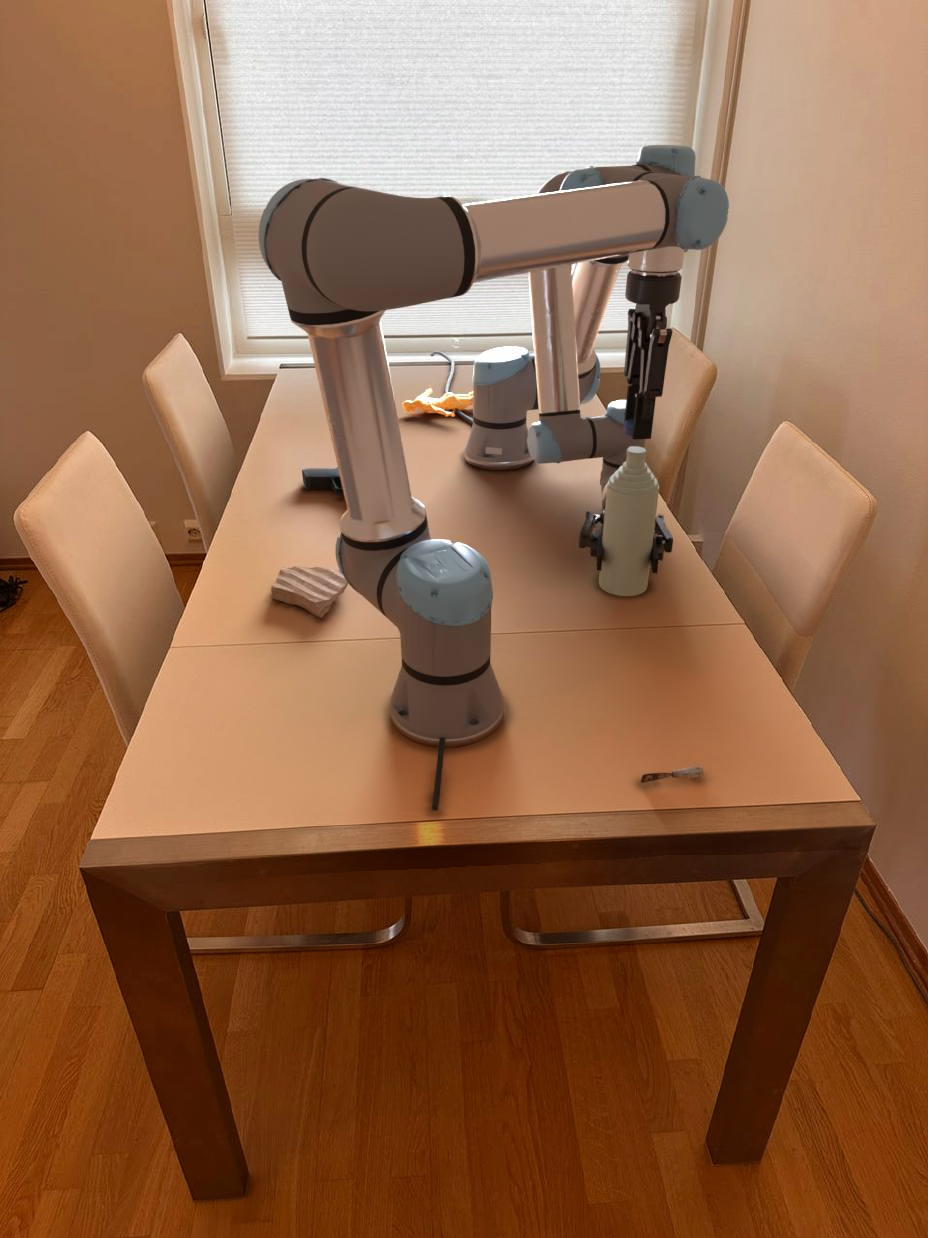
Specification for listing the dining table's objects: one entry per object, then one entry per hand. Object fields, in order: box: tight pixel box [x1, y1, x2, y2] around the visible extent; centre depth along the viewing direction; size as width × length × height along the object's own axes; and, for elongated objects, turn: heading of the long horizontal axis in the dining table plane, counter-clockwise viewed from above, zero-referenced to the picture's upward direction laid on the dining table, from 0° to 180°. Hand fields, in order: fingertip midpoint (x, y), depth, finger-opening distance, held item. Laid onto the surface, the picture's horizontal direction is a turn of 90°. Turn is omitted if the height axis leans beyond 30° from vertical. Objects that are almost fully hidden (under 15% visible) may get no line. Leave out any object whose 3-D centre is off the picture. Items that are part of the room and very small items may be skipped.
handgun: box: [301, 466, 344, 496], centre depth 181 cm, size 3×18×12 cm
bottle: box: [598, 446, 660, 597], centre depth 144 cm, size 8×8×24 cm
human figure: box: [402, 385, 473, 418], centre depth 225 cm, size 20×20×4 cm
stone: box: [270, 565, 349, 619], centre depth 147 cm, size 13×12×2 cm
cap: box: [624, 419, 634, 436], centre depth 136 cm, size 4×4×2 cm
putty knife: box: [640, 765, 705, 784], centre depth 109 cm, size 1×8×2 cm, turn 103°
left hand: (637, 432), depth 136 cm, fingers closed on cap, 4 cm apart
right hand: (627, 564), depth 143 cm, fingers closed on bottle, 8 cm apart
